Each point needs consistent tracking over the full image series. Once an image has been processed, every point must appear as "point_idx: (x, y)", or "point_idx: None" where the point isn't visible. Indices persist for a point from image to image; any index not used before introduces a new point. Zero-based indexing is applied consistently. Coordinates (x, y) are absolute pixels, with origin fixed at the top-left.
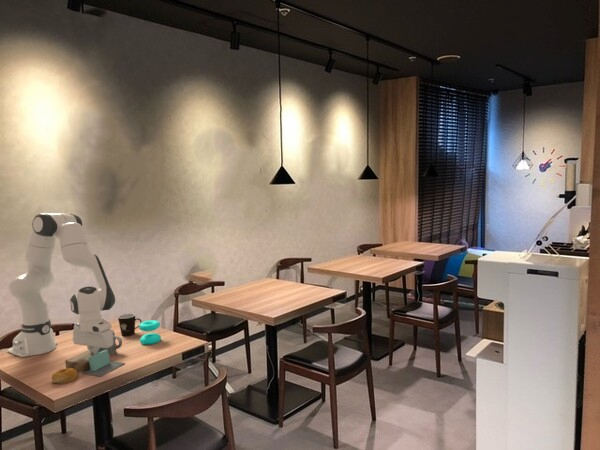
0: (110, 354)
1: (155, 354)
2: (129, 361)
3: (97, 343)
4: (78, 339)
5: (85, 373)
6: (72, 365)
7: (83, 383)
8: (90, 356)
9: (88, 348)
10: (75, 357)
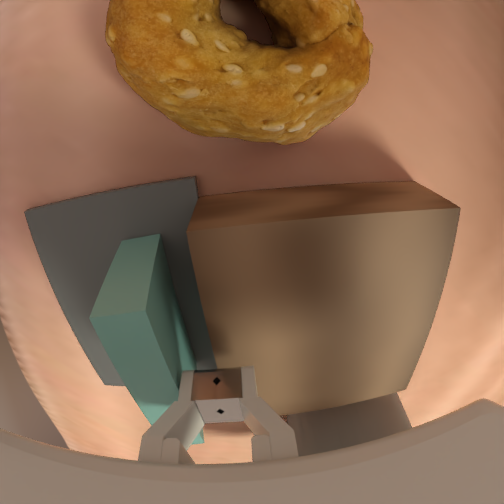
0: (289, 418)
1: (113, 447)
2: (121, 401)
3: (61, 492)
4: (450, 484)
5: (161, 183)
6: (361, 199)
7: (30, 79)
8: (155, 338)
9: (271, 429)
10: (418, 294)
